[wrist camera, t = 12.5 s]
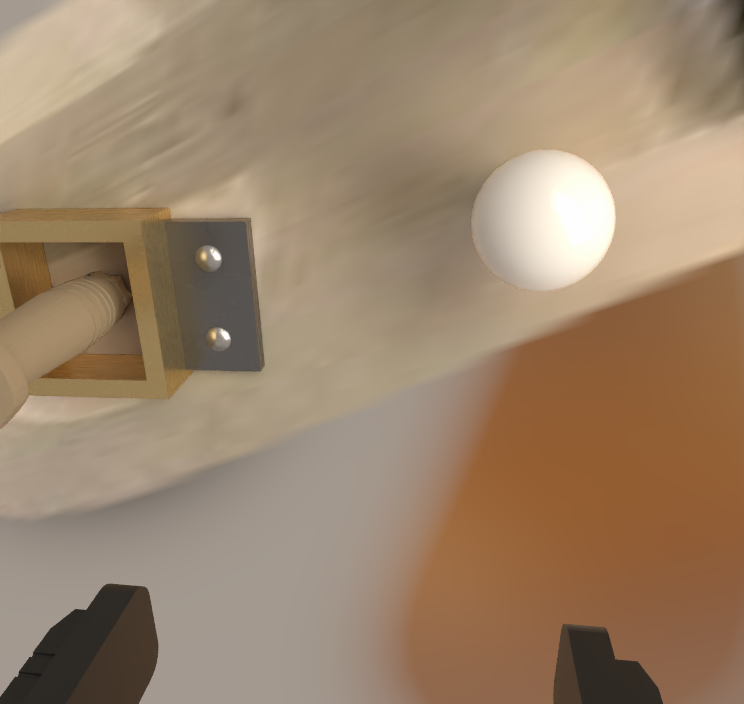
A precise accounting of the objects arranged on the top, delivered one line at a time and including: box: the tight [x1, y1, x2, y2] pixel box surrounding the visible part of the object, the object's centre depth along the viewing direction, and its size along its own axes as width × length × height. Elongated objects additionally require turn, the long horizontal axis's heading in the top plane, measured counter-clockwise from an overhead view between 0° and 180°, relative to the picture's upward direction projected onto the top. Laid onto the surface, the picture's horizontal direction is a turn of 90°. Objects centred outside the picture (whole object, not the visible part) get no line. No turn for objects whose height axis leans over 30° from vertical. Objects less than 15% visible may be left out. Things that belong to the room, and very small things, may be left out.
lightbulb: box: [471, 149, 616, 292], centre depth 32 cm, size 6×6×11 cm
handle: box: [0, 271, 132, 429], centre depth 35 cm, size 5×6×15 cm
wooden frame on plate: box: [0, 208, 264, 399], centre depth 40 cm, size 11×20×4 cm, turn 91°
